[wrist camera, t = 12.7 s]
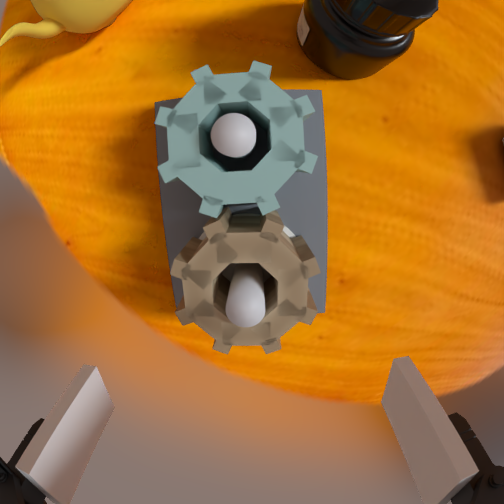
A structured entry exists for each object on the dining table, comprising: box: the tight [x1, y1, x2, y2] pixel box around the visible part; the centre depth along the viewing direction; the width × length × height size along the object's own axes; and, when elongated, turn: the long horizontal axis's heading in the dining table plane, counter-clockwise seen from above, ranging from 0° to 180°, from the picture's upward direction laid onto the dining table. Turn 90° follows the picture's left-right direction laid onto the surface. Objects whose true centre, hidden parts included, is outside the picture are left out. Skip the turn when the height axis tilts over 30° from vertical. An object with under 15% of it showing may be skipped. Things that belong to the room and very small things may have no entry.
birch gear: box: [170, 206, 321, 354], centre depth 22 cm, size 10×10×6 cm
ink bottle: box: [296, 0, 438, 79], centre depth 15 cm, size 10×9×12 cm
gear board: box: [154, 60, 327, 327], centre depth 21 cm, size 21×14×8 cm, turn 3°
